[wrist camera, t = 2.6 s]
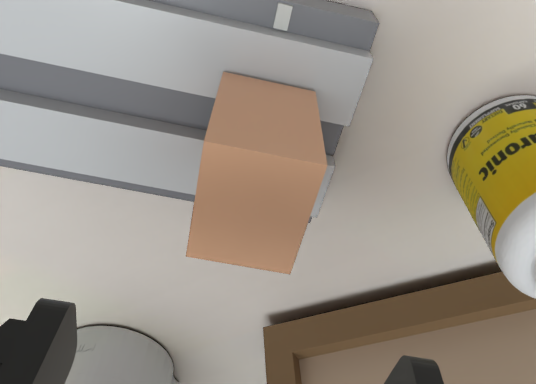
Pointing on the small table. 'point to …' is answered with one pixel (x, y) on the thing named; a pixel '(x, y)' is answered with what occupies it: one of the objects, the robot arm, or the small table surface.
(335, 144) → the board
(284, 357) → the photo frame
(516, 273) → the supplement bottle
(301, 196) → the fader knob
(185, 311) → the small table surface
